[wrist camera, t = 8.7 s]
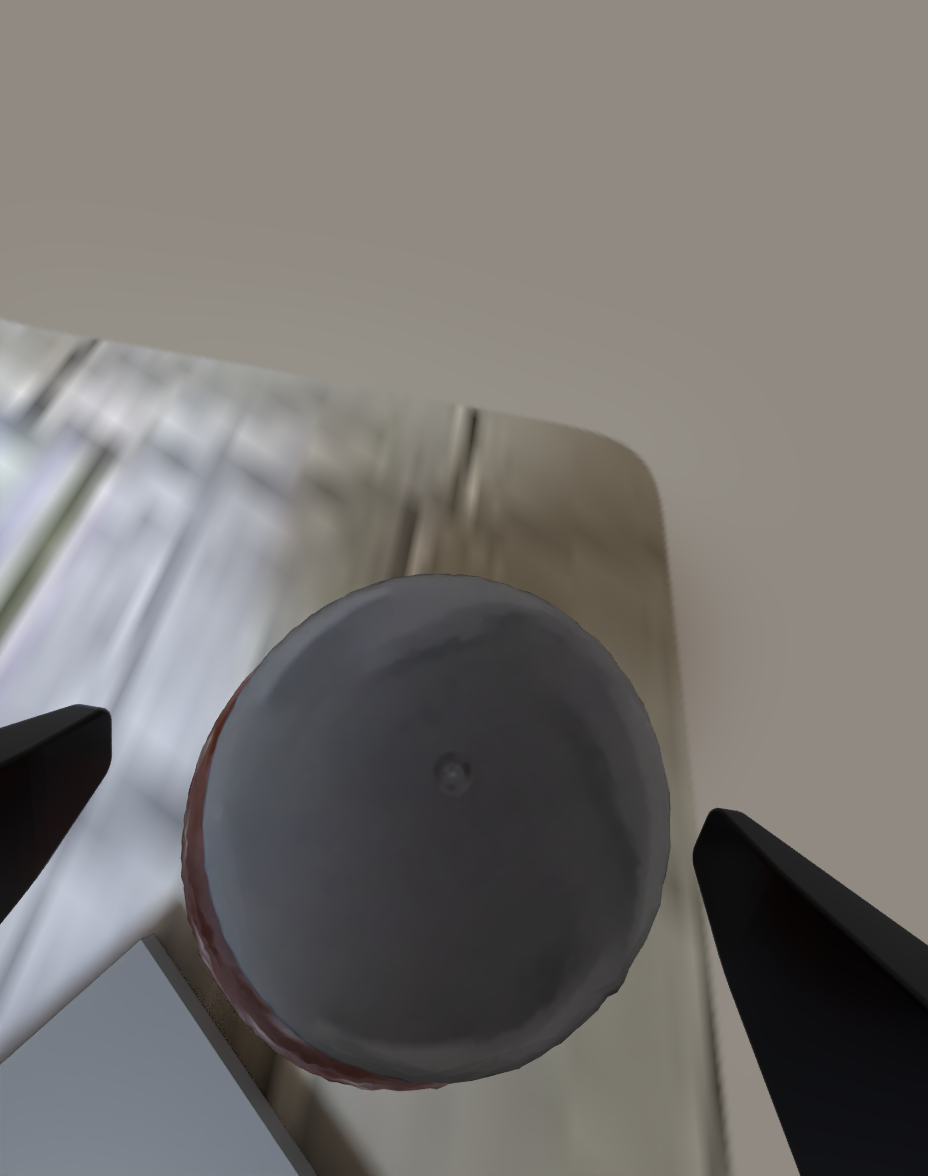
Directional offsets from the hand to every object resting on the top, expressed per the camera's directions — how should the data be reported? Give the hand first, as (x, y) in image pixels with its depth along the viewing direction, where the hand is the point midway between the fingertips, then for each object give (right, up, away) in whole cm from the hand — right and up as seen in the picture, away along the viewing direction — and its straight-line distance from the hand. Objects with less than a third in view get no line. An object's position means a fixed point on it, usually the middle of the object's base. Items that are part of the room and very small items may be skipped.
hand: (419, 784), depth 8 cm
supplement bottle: (-1, -4, +7) cm, 8 cm away
